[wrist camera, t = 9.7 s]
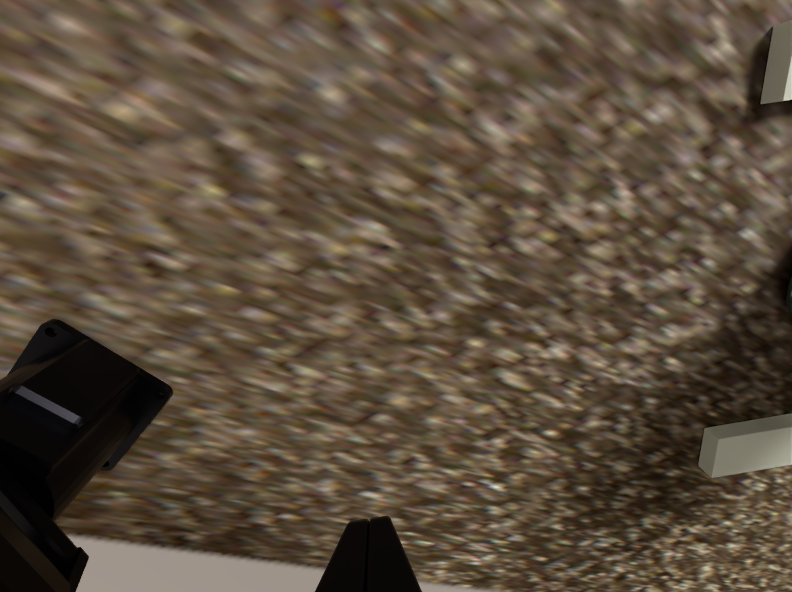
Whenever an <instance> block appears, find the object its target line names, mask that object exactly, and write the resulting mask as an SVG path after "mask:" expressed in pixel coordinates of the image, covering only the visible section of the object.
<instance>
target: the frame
mask: <svg viewBox="0 0 792 592" xmlns="http://www.w3.org/2000/svg"><path fill="white" fill-rule="evenodd" d="M787 100H792V20H790V21H787V22H784V23H781V24H778V25H775V26H773V32H772V38H771V44H770V50H769V56H768V61H767V67H766V73H765V79H764V85H763V90H762V96H761V102H760V104H766V103H773V102H780V101H787ZM791 464H792V413H791V414H785V415H779V416H773V417H767V418H761V419H755V420H749V421H743V422H737V423H731V424H725V425H719V426H713V427H707V428H705V429H704V435H703V440H702V446H701V452H700V458H699V464H698V466H699V467H700V468H701V469H702V470H703V471H704V472H705V473H707V474H708V475H709V476H710V477H711V478H715V477H721V476H727V475H733V474H738V473H744V472H750V471H756V470H762V469H768V468H774V467H780V466H785V465H791Z"/></svg>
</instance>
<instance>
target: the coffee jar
mask: <svg viewBox="0 0 792 592" xmlns="http://www.w3.org/2000/svg"><path fill="white" fill-rule="evenodd" d="M786 303H787V306H788V309H789V310H790V312H791V313H792V277H791V279H790V282H789V286H788V291H787V300H786Z"/></svg>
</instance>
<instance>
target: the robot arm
mask: <svg viewBox="0 0 792 592" xmlns="http://www.w3.org/2000/svg"><path fill="white" fill-rule="evenodd" d="M52 328H53V329H55V330H56V332H57V333H55V332H54V331H52ZM158 391H159V392H162V393H163V394H164V395H160V394H159V393H158ZM172 394H173V390H172V388H171V387H170V386H169V385H168V384H166V383H164V382H163V381H161V380H159V379H158V378H156V377H154V376H153V375H151V374H149V373H148V372H146V371H144V370H143V369H141V368H139V367H138V366H136V365H134V364H133V363H131V362H129V361H128V360H126V359H124V358H123V357H121V356H119V355H118V354H116V353H114V352H113V351H111V350H109V349H108V348H106V347H104V346H103V345H101V344H99V343H98V342H96V341H94V340H93V339H91V338H89V337H88V336H86V335H84V334H83V333H81V332H79V331H78V330H76V329H74V328H73V327H71V326H69V325H68V324H66V323H64V322H63V321H60V320H57V319H52V320H49V321H47V322H45V323H43V324H42V325H41V326H40V327H39V328H38V330H37V331H36V333H35V334H34V336H33V337H32V339H31V340H30V342H29V343H28V345H27V346H26V348H25V350H24V351H23V353H22V354H21V356H20V357H19V359H18V360H17V362H16V363H15V365H14V366H13V368H12V369H11V371H10V372H9V374H8V375H7V376H6V377H4V378H2V379H1V380H0V592H76V589H77V587H78V584H79V582H80V579H81V576H82V574H83V571H84V569H85V566H86V564H87V561H88V558H89V556H88V555H87V554H86V553H85V552H84V550H83V549H82V548H81V547H78V548H77V547H76V546H75V545H74V544H73V543H72V541H71V540H70V539H69V538H68V537H67V536H66V534H65V533H64V532H63V531H62V530H61V529H60V527H59V526H58V525H57V524H56V523H55V522H54V521H55V520H56V519H57V518H58V517H59V515H60V514H61V513H62V512H63V511H64V510H65V509H66V507H67V506H68V505H69V504H70V503H71V502H72V501H73V499H74V498H75V497H76V496H77V495H78V494H79V492H80V491H81V490H82V489H83V488H84V487H85V486H86V484H87V483H88V482H89V481H90V480H91V479H92V477H93V476H94V475H95V474H96V473H97V472H98V471H99V469H101V470H106V471H107V470H111V469H112V468H113V467H114V466H115V465H116V464H117V462H118V461H119V460H120V459H121V458H122V456H123V455H124V454H125V453H126V451H127V450H128V449H129V448H130V447H131V445H132V444H133V443H134V442H135V440H136V439H137V438H138V437H139V435H140V434H141V433H142V432H143V431H144V429H145V428H146V427H147V426H148V424H149V423H150V422H151V421H152V420H153V418H154V417H155V416H156V415H157V413H158V412H159V411H160V410H161V408H162V407H163V406H164V405H165V404H166V402H167V401H168V400H169V399H170V397H171V396H172ZM315 592H422V591H421V589H420V586H419V584H418V582H417V579H416V577H415V575H414V572H413V570H412V568H411V565H410V563H409V561H408V558H407V556H406V554H405V551H404V549H403V547H402V544H401V542H400V540H399V537H398V535H397V533H396V530H395V528H394V526H393V523H392V521H391V519H390V517H389V516H382V517H375V518H371V519H370V521H369V520H368V519H361V520H354V521H350V522H349V523H348V524H347V526H346V528H345V530H344V532H343V534H342V536H341V538H340V541H339V543H338V545H337V547H336V549H335V551H334V553H333V555H332V557H331V559H330V561H329V563H328V566H327V568H326V570H325V572H324V574H323V576H322V578H321V580H320V582H319V584H318V587H317V589H316V591H315Z"/></svg>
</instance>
